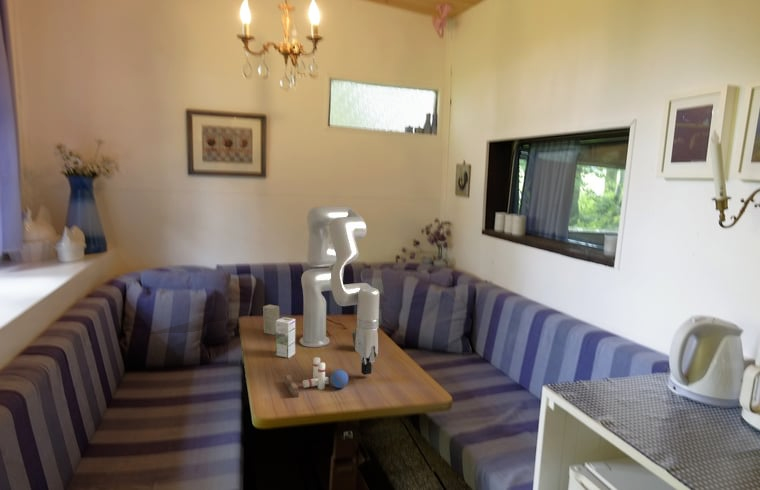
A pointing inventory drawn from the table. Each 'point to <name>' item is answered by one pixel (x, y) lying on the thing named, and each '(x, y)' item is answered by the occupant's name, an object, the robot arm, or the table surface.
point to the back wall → (291, 385)
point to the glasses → (335, 323)
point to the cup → (354, 335)
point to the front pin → (313, 382)
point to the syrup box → (285, 337)
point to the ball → (339, 378)
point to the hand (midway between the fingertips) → (366, 373)
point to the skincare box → (270, 318)
